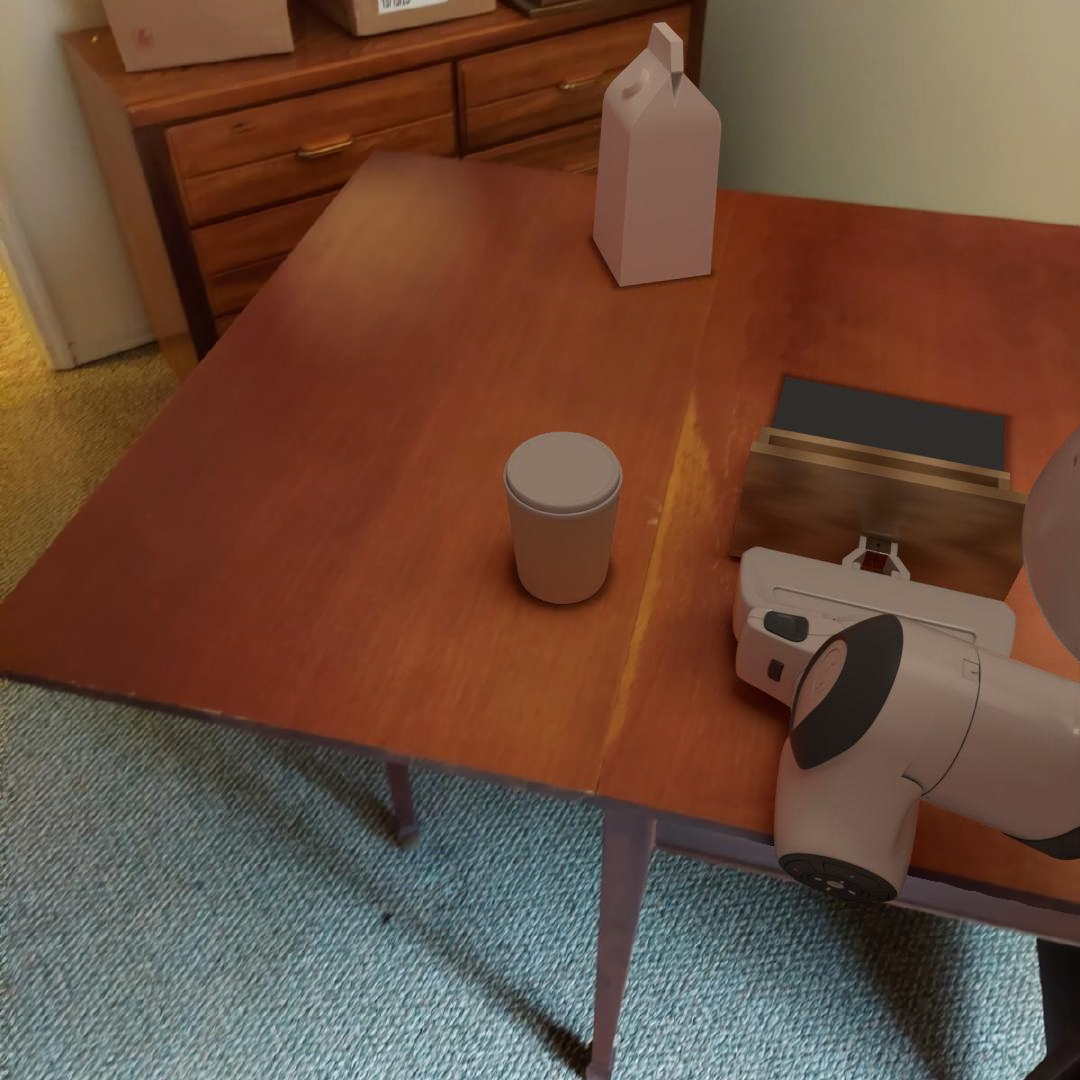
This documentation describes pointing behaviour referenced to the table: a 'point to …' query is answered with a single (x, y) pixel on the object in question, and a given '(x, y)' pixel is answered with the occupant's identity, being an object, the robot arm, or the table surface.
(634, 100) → the milk
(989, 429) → the mat
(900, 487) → the drawer
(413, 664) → the table surface
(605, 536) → the coffee cup
